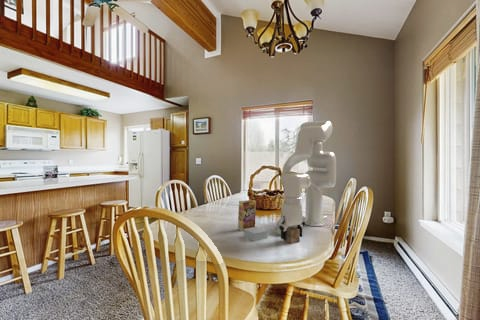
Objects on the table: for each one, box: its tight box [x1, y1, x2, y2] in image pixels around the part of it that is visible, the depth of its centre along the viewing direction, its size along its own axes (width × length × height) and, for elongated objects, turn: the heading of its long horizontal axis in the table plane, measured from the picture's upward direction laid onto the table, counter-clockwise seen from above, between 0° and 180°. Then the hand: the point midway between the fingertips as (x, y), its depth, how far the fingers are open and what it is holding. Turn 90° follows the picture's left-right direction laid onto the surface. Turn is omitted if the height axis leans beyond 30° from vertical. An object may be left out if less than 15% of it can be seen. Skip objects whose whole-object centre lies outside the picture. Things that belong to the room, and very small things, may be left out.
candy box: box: [237, 199, 257, 232], centre depth 124 cm, size 9×4×15 cm, turn 123°
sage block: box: [276, 224, 292, 236], centre depth 118 cm, size 5×5×6 cm
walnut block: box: [283, 226, 301, 245], centre depth 107 cm, size 5×5×6 cm
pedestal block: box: [243, 226, 269, 243], centre depth 112 cm, size 8×8×4 cm
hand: (291, 237), depth 107 cm, fingers open, 9 cm apart
